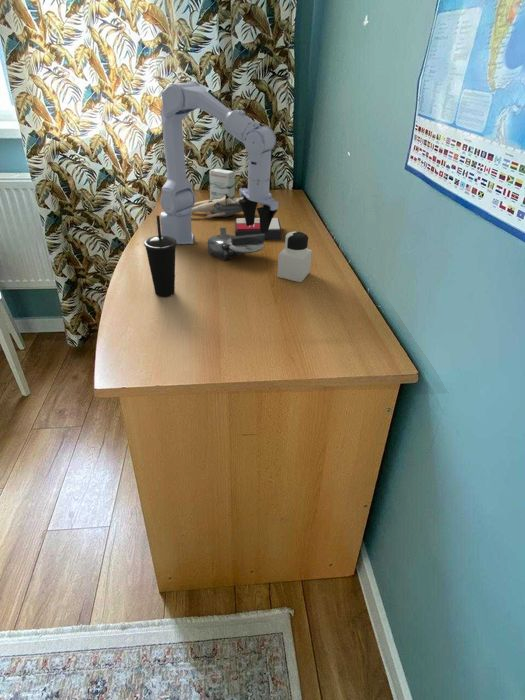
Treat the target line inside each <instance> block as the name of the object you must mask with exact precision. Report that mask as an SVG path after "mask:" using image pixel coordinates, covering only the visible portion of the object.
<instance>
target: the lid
mask: <svg viewBox="0 0 525 700" xmlns="http://www.w3.org/2000/svg"><path fill="white" fill-rule="evenodd" d="M233 236H234V237H231V238H230V239H228V240H227V242H226V244H222V245H221V248H222V249H230V250H232V251H234V252H238V253H241V254H252V253H253V254H254V253H258V252H261V251H262V250H263V249H264V247H265V245H264V244H265V242H266V239H265V234H264V233H262V234H253V235H244V236H235V235H233Z"/></svg>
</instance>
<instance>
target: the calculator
mask: <svg viewBox="0 0 525 700" xmlns="http://www.w3.org/2000/svg"><path fill="white" fill-rule="evenodd" d="M253 234H262V233H261V231H260V218H259V217H255V220H254V225H250V226H247V225H246V221H245V217H241V218H239V217H237V218H236V219H235V220H234V236H244V235H253ZM264 234H265V240H270V241H271V240H273V241H281V240H282V227H281V221H280V218H278V217H273V218H272V220H271V223H270V226H269V229H268V232H266V233H264Z"/></svg>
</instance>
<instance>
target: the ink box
mask: <svg viewBox="0 0 525 700" xmlns="http://www.w3.org/2000/svg"><path fill="white" fill-rule="evenodd" d="M208 172H209V197H210V198H209V200H214V199H216V198H218V199H222V198H223V197H224V196H225V194H228V196H229V195H230V196H229V197H230V199H234V198H236V197H235V194H236V193H235V184H236V183H235V179H236V178H235V174H236V173H235V171H234V170H227V169H220V168H214V169H211V170H209V171H208ZM232 197H233V198H232Z"/></svg>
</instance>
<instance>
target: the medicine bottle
mask: <svg viewBox="0 0 525 700" xmlns="http://www.w3.org/2000/svg"><path fill="white" fill-rule="evenodd" d="M308 244H309V236H308V235H307V234H306V233H304V232H302V231H290V232H288V233H286V234H285V240H284V248H283V249H282V250H281V251H280V252H278V258H277V259H278V260H277V261H278V262H277V277H278V278H281V279H285V280H288V281H292V282H295V283H296V282H297V283H302V282H303V281H304V279H305V278H306V277H307V276H308V275H309V274H310V271H311V262H312V254H313V253H312V252H313V250H312V249H309V248H308Z"/></svg>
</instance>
